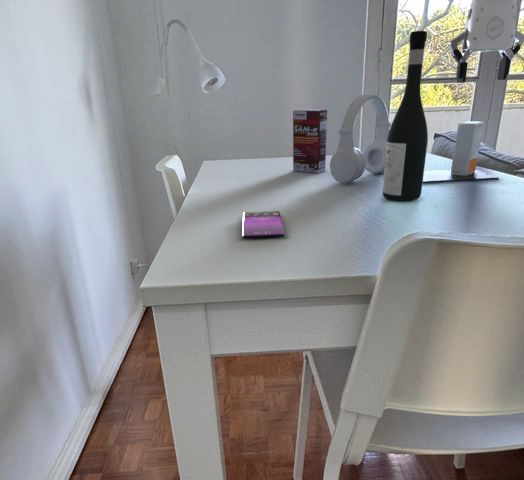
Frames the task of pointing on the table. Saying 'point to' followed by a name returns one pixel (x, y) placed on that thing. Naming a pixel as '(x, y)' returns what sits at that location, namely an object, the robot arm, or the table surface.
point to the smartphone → (262, 224)
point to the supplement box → (309, 140)
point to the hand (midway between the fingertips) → (481, 81)
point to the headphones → (352, 159)
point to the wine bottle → (408, 133)
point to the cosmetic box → (467, 148)
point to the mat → (455, 176)
